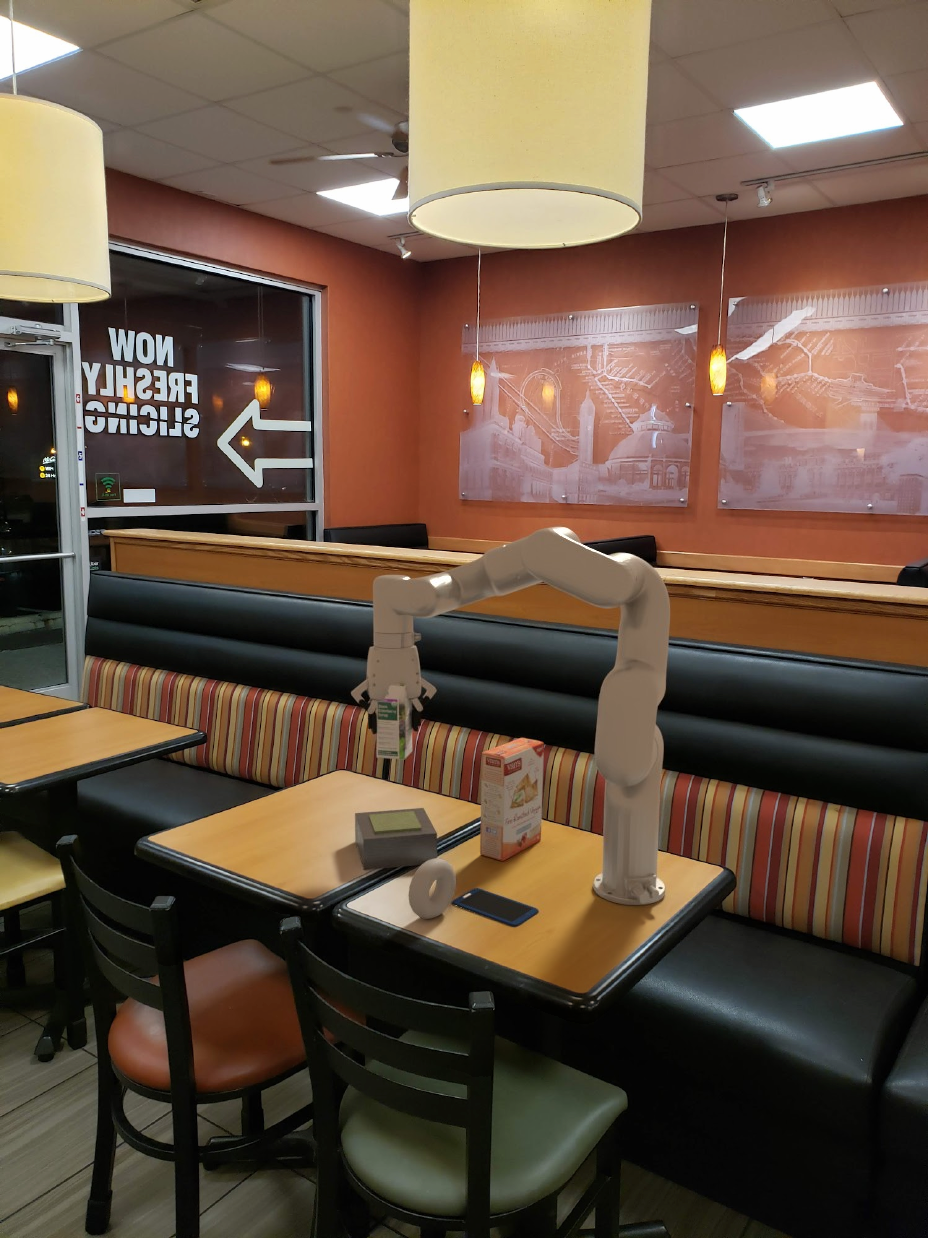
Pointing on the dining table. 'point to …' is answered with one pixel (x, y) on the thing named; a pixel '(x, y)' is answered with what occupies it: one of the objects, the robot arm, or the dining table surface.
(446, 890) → the donut
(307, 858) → the dining table surface
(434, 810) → the dining table surface
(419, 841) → the stand
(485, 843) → the cracker box
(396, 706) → the syrup box
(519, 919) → the cell phone
